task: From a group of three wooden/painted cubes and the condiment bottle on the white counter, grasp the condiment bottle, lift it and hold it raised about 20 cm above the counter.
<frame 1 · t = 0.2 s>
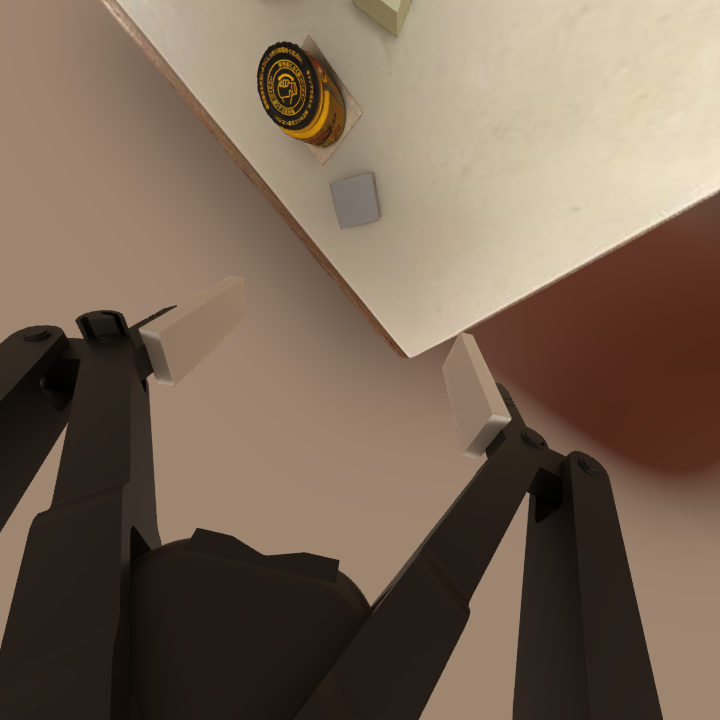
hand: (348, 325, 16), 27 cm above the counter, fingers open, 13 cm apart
slate cube: (359, 199, 36), on the counter
condiment: (317, 107, 31), on the counter
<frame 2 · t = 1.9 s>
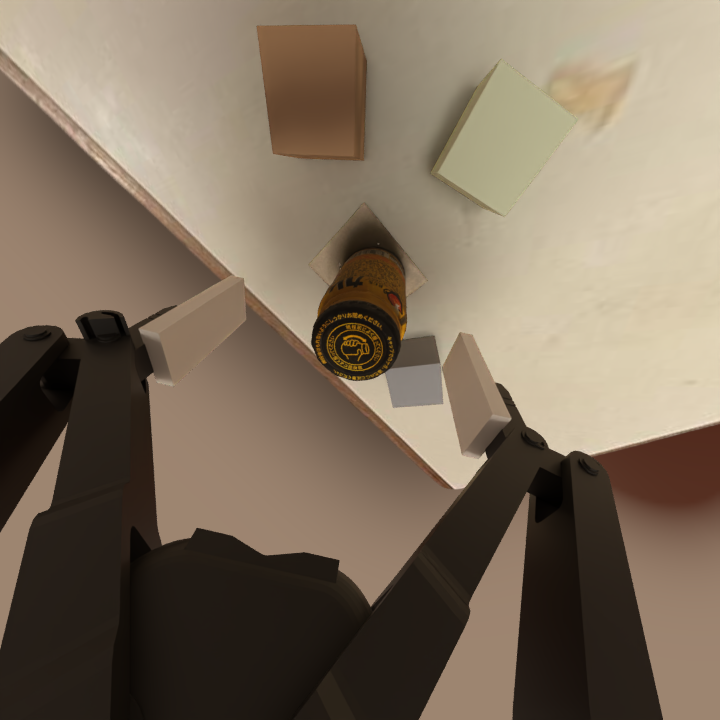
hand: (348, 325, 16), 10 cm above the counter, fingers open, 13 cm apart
slate cube: (412, 357, 29), on the counter
sage cube: (480, 153, 18), on the counter
condiment: (367, 271, 24), on the counter
walnut cube: (329, 114, 18), on the counter
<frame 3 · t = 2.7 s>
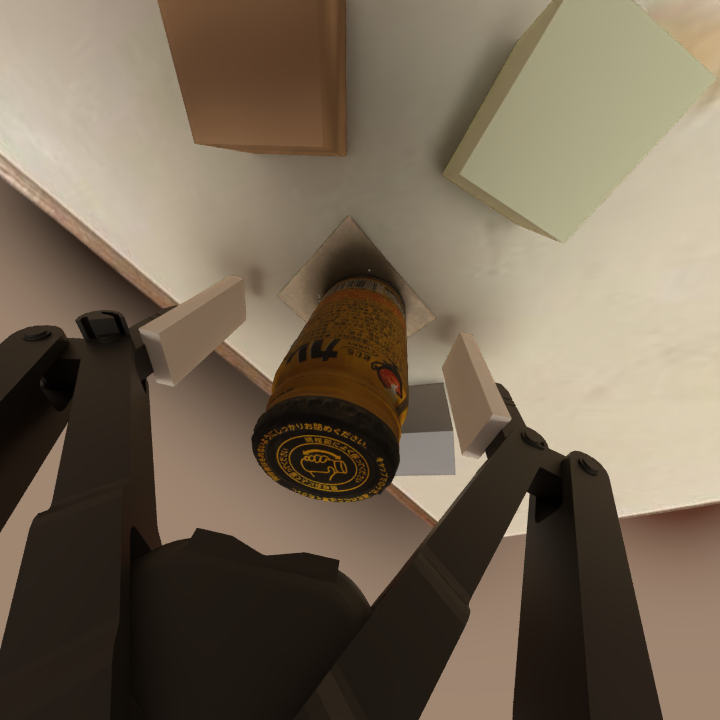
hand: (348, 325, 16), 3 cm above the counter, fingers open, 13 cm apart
slate cube: (415, 406, 23), on the counter
sage cube: (517, 146, 13), on the counter
condiment: (356, 304, 18), on the counter
walnut cube: (294, 87, 12), on the counter
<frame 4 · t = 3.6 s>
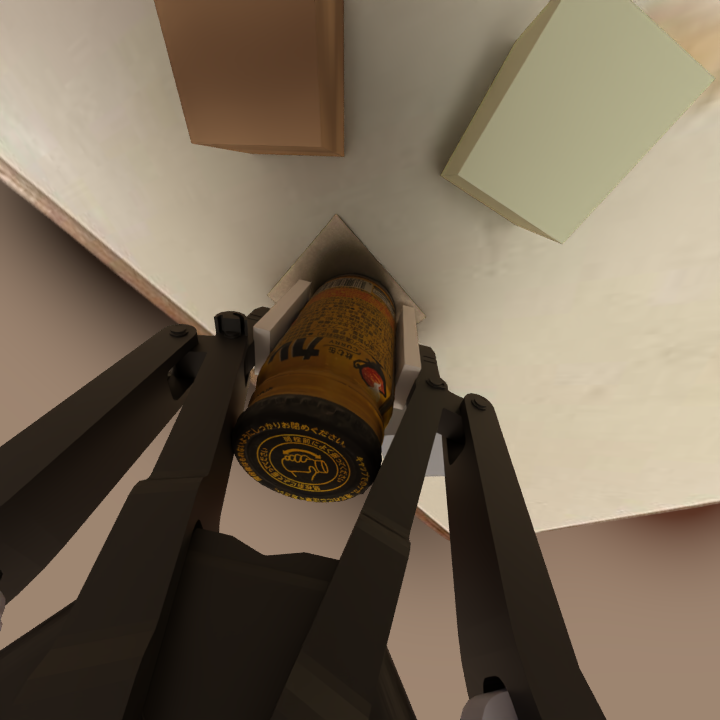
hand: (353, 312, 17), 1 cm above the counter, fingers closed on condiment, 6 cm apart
slate cube: (414, 407, 23), on the counter
sage cube: (515, 147, 12), on the counter
condiment: (346, 303, 18), on the counter, touching gripper
walnut cube: (291, 87, 12), on the counter
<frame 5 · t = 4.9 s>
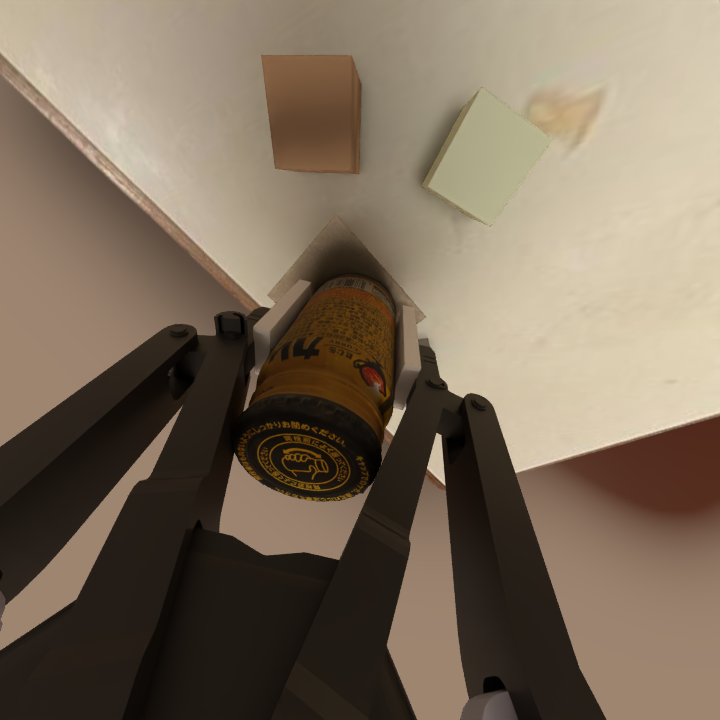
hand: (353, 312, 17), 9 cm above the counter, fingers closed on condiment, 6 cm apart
sage cube: (467, 168, 20), on the counter
condiment: (346, 303, 18), point 8 cm above the counter, touching gripper
walnut cube: (327, 131, 20), on the counter
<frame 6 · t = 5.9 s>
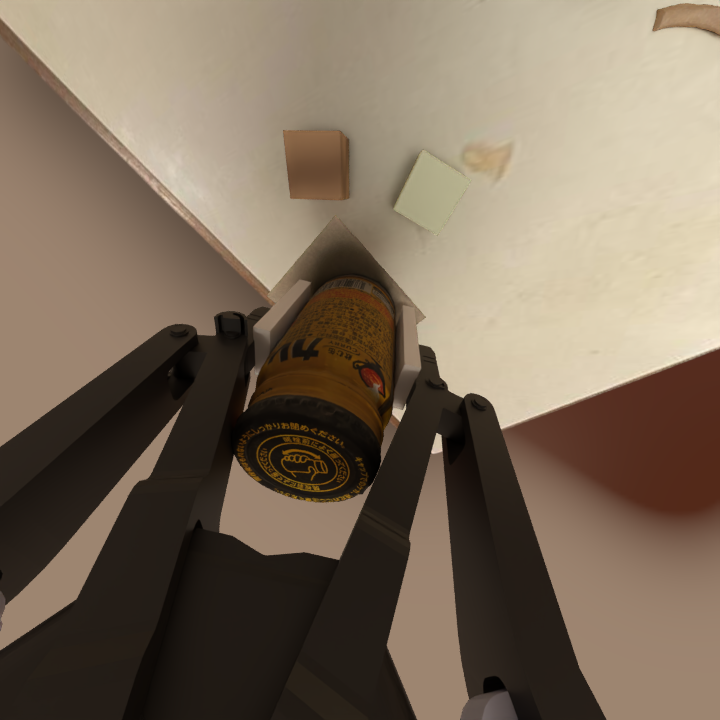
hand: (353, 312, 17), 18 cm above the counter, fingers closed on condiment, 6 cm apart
sage cube: (425, 194, 28), on the counter
condiment: (346, 304, 18), point 16 cm above the counter, touching gripper
walnut cube: (325, 169, 28), on the counter
bone: (712, 47, 21), on the counter
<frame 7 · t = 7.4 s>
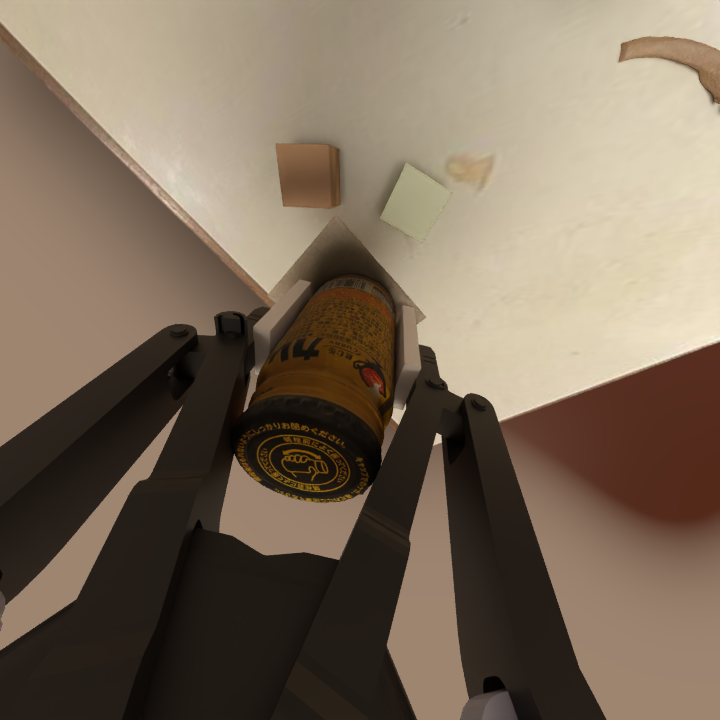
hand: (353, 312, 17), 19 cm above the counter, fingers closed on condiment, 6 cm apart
sage cube: (412, 202, 29), on the counter
condiment: (346, 303, 18), point 18 cm above the counter, touching gripper
walnut cube: (317, 177, 29), on the counter
bone: (677, 73, 22), on the counter
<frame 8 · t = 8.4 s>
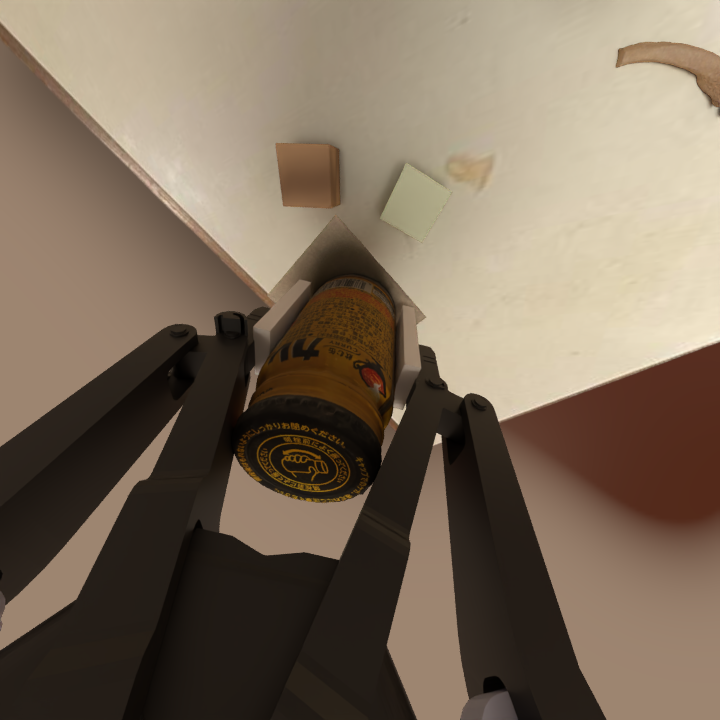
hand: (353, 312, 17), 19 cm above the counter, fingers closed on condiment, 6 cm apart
sage cube: (412, 202, 29), on the counter
condiment: (346, 303, 18), point 18 cm above the counter, touching gripper
walnut cube: (317, 177, 29), on the counter
bone: (675, 77, 22), on the counter
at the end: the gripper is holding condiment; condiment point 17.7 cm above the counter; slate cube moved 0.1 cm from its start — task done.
